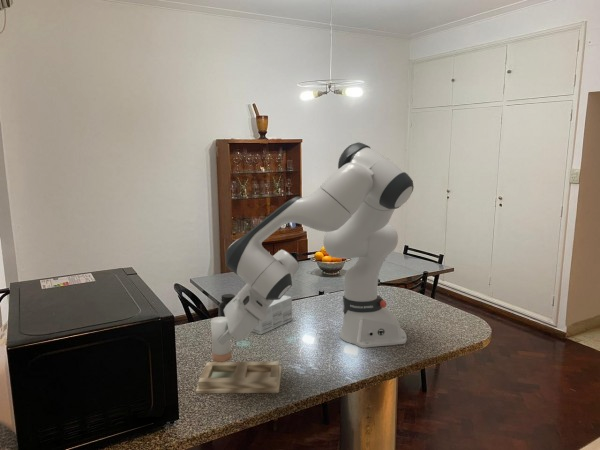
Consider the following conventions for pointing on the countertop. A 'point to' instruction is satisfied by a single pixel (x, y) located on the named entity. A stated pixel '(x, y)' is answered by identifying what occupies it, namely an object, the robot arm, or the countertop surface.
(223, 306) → the supplement bottle
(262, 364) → the two-pocket rack
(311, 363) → the countertop surface
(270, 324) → the supplement box
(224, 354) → the white dome lamp
